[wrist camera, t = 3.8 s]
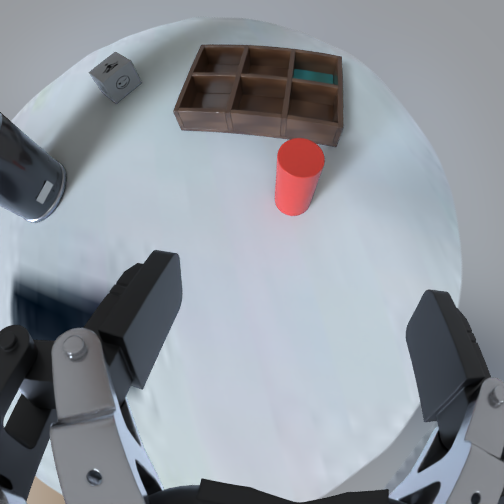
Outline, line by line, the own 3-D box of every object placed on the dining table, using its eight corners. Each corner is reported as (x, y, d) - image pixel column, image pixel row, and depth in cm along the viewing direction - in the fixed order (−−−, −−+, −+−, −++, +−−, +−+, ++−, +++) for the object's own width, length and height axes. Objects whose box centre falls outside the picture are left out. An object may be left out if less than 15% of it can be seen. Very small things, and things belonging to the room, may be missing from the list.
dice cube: (116, 104, 36) (102, 83, 31) (102, 92, 37) (88, 72, 32) (142, 82, 37) (130, 60, 32) (126, 72, 38) (115, 51, 33)
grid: (181, 130, 34) (172, 111, 30) (205, 63, 37) (201, 44, 33) (336, 147, 33) (343, 128, 29) (336, 76, 35) (341, 56, 31)
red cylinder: (272, 213, 31) (274, 174, 22) (277, 181, 32) (280, 134, 23) (308, 218, 31) (323, 181, 22) (311, 186, 32) (325, 141, 23)
